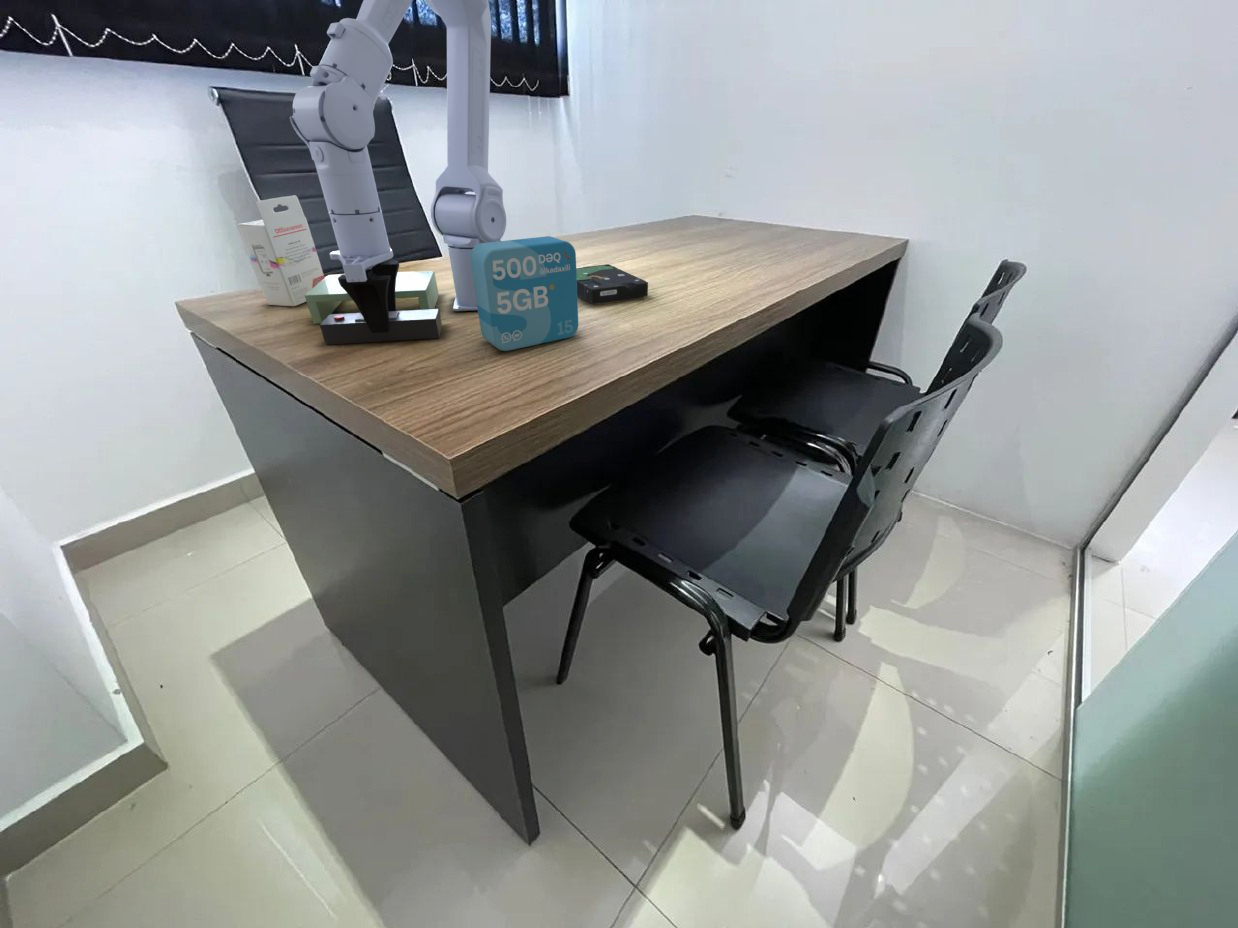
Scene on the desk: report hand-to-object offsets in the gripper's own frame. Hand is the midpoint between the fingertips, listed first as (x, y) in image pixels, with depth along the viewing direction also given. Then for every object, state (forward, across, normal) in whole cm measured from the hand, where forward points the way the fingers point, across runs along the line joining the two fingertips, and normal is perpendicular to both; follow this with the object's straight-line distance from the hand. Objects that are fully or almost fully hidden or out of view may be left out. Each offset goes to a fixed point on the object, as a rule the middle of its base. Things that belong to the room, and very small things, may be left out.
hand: (384, 325), depth 68 cm
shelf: (+1, -13, -3) cm, 13 cm away
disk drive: (+2, -17, +32) cm, 36 cm away
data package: (+2, +5, +19) cm, 20 cm away
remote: (+1, 0, 0) cm, 1 cm away
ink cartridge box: (+2, -21, -17) cm, 27 cm away
